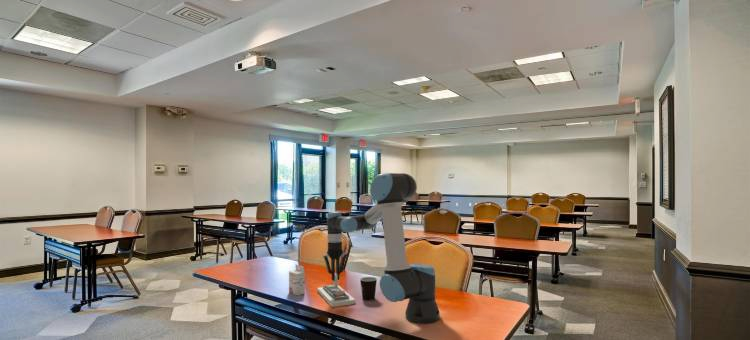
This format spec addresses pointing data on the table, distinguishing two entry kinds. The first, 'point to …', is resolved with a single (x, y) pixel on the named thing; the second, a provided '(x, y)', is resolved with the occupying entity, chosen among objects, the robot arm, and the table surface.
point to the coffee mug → (368, 287)
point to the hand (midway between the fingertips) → (335, 286)
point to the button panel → (335, 297)
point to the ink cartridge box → (297, 281)
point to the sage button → (330, 287)
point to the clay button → (339, 293)
